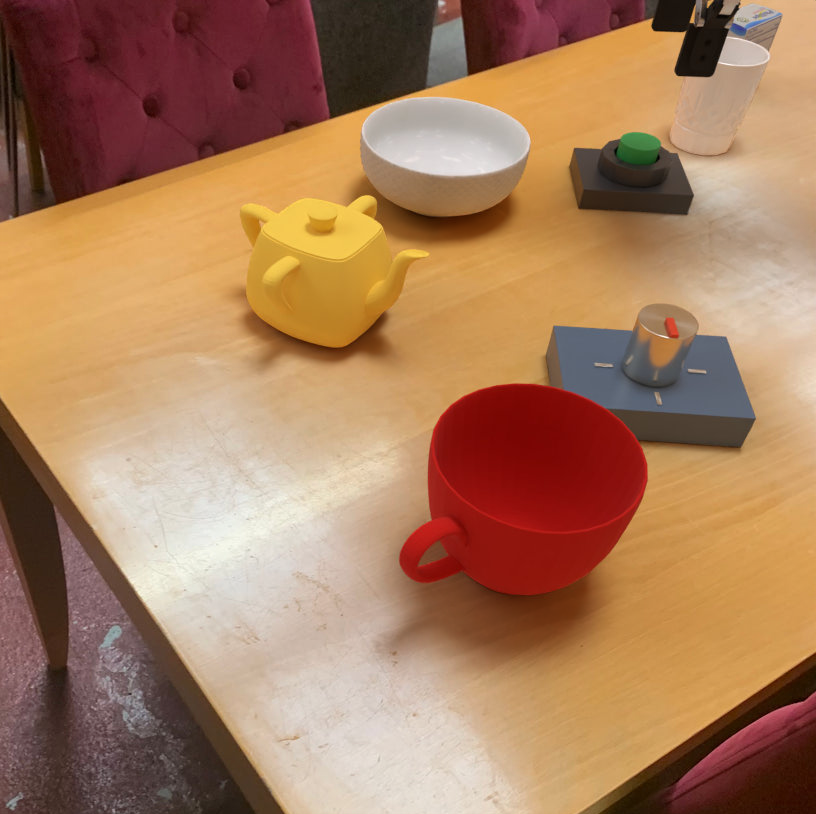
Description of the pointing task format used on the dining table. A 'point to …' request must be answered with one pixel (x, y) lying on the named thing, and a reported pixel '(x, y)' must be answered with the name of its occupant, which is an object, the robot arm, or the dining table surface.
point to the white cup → (718, 99)
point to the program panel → (656, 406)
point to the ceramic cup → (526, 489)
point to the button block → (629, 182)
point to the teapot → (322, 268)
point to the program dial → (659, 344)
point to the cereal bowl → (443, 155)
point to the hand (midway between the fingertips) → (680, 52)
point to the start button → (638, 148)
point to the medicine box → (756, 24)
